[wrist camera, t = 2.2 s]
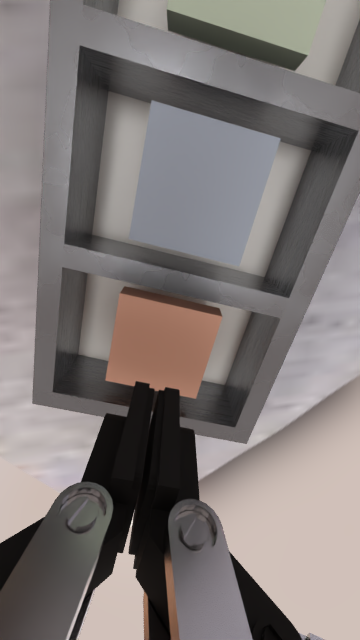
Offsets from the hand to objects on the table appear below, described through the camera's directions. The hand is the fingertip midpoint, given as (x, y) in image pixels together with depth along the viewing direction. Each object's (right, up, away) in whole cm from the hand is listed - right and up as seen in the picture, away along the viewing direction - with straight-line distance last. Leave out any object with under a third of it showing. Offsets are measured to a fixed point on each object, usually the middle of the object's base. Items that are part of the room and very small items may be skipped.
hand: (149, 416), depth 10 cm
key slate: (+2, +10, +3) cm, 10 cm away
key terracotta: (0, +3, +6) cm, 7 cm away
